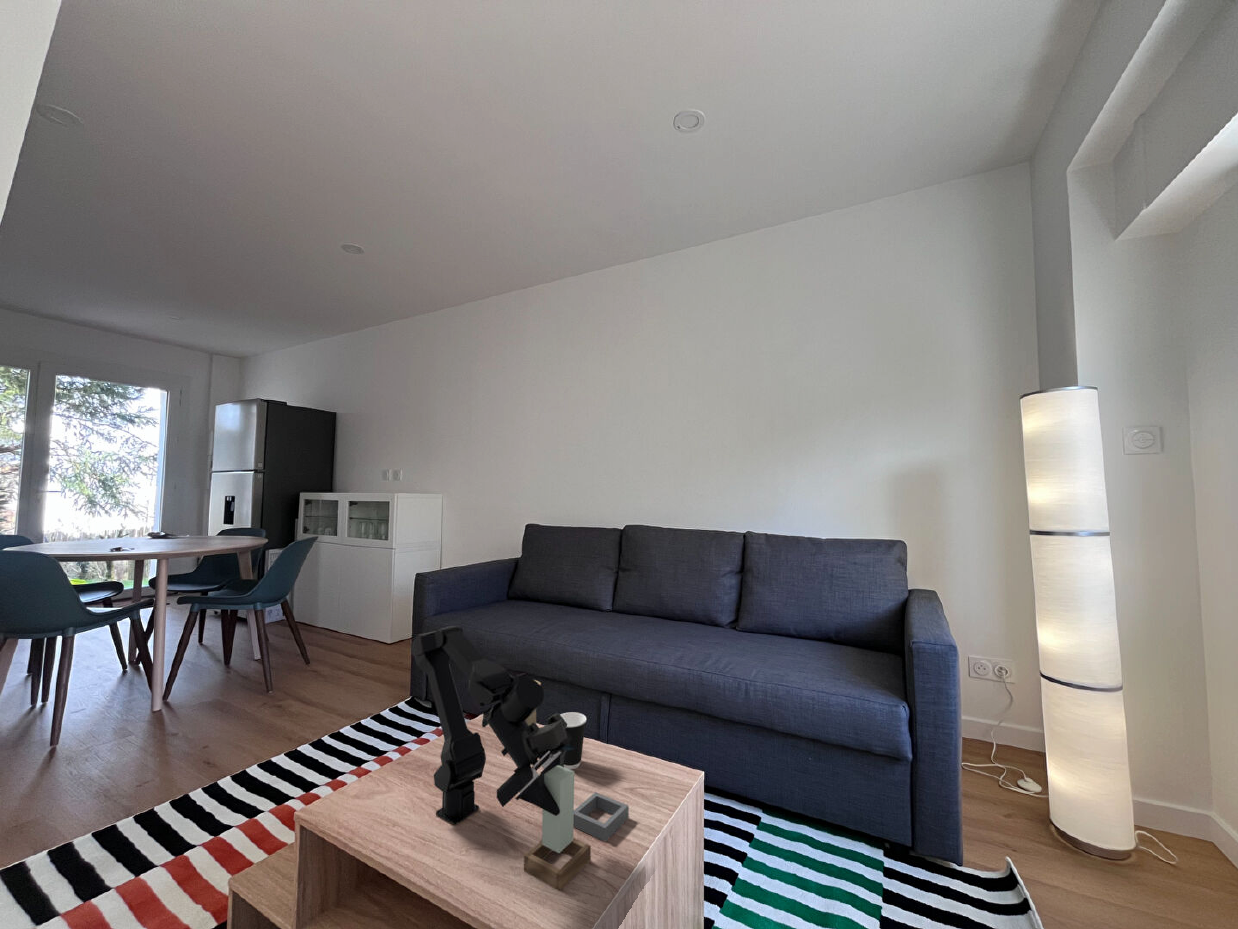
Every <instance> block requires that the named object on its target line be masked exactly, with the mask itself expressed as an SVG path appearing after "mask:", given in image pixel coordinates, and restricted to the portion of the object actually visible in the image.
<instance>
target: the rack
mask: <svg viewBox="0 0 1238 929" xmlns="http://www.w3.org/2000/svg"><path fill="white" fill-rule="evenodd" d="M591 847H592V846H591V845H590V844H588V843H586V842H584V841H581V840H579V839H577V838H576V837H573V841H572V842H571V843H570V844H569V845H567V846H566V847H565V848H564V849H563V850H562V851H561V852H563V853H565V854H567V855H569V856H571V858H569V860H568V861H567V862H565V864H564V865H563V866H561V867H560V868H558V867H557V866H555V865H553V864H551V863H550V862H547V861H545V860H544V859H545V858H546V857H547V856H548V855H550V853H552V852H553V850H552V849H550V848H548V847H546V846H544V845H542V840H540V841H539V842H538V843H536V844H535V845H534V847H532V848H531V849H530V850H529V851H528V852H526V853H525V854H524V855H523V871H524V872H526V873H528V874H530V875H531V876H533V877H535V878H537V879H538V880H539V881H542V882H544V883H546V884H548V885H549V886H551V887H553V888H554V889H556V890H558V891H560V892H562V890H563V889H564V888H565V887H566V886H567V885H568V884H570V882H571V881H572V880H573V879H574V878H575V877H576V876H577V875H578V873H580V872H581V871H582V870H583V868H585V866H586V865H587V864H588V863H590V862H591V860H592V859H591V857H592V856H591V853H592V852H591Z"/></svg>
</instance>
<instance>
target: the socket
mask: <svg viewBox="0 0 1238 929" xmlns="http://www.w3.org/2000/svg"><path fill="white" fill-rule="evenodd" d="M629 807H630V805H628V804H625V803H624V802H621V801H618V800H616V799H614V798H611V797H609V796H606V795H604V794H601V793H599V792H594V793H593V794H591V795H590V796H589V797H588V798H586V800H584V801H583V802H582V803H581V804H580V805H579V806H577V807H576V808H574V820H573V828H575V829H577V830H579V831H582V832H584V833H585V834H588V835H590V836H592V837H594V838H596V839H598V840H601V841H603V842H607V841H608V838H609V837H610V838H611V836H612V835H614V833H616V831H617V830H619V828H620V827H621V826H622V825H623V824H624V823H626V821H627V820H628V819H629V815H630V813H629V812H630V811H629V810H630V809H629ZM595 810H600V811H602V812H604V813H607V814H610V815H611V816H610V817H609V818H608V819H607V820H605V822H603V821H599V820H597V819H596V818H592V817H590V815H591V814H592V813H593V812H594V811H595ZM606 840H607V841H606Z"/></svg>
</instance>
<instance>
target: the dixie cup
mask: <svg viewBox="0 0 1238 929" xmlns="http://www.w3.org/2000/svg"><path fill="white" fill-rule="evenodd" d="M559 715H560V716H561V717H562V718H563V719H564V721H565V722H566V723H567V727H566V729H565V731H567V732H568V734H569V735H570V737H571V738H572V740H571V741H570V742H569V743H568V744H567V745H566V746H565V747H563V748H562V749H561V750H560V752H563V751H564V750H565V749H566V753H565V755H564V768H567V769H569V770H575V769H577V768H579V766H580V765H581V761H582V756H583V755H582V754H583V747H584V736H585V731H586V730H585V729H586V728H585V727H586V722H587V716H586V715H584V714H583V713H580V712H577V711H576V712H575V711H574V712H573V711H572V712H564V713H561V714H559Z"/></svg>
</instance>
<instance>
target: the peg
mask: <svg viewBox="0 0 1238 929" xmlns="http://www.w3.org/2000/svg"><path fill="white" fill-rule="evenodd" d="M544 782H545V785H546V787H547V788H548V790H549V792H550V793H551V795H552V797H553V798H554V800H555V802H556V803H557V805H558V807H559V809H560V813H559V814H558V815H557V816H555V815H553V814H551V813H549V812H547V811H545V810H543V809H542V820H541V821H542V822H541V823H542V825H541V826H542V828H541V841H542V845H544V846H546V847H548V848H550V849H552V851H554V852H556V853H557V854H560V853H561V852H563V851H562V850H563V849H564V848H565V847H566V846H567V845H569V844H570V843H571V842H572V841H573V838H574V827H573V820H574V810H575V808H574V807H575V771H574V770H573V769H567V768H564V767H562V766H559V765H557V766H556V767H554V768H553V769H551V770H550V771H548V772H547V773H545V774H544Z"/></svg>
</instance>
